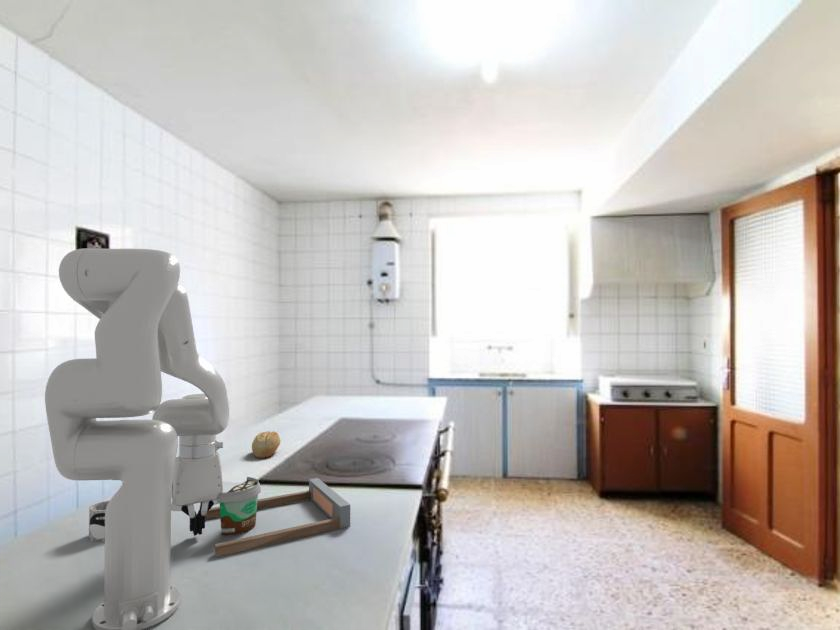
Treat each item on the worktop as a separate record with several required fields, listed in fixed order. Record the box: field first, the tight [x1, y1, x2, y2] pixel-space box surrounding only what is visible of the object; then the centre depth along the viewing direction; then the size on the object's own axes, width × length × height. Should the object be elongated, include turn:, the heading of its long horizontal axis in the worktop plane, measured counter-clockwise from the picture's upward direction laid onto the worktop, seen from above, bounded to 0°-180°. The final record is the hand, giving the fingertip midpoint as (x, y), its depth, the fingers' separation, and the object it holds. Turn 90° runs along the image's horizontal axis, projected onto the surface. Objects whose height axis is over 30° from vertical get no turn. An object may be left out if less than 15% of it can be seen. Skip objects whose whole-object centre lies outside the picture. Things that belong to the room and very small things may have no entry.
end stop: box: [308, 477, 351, 529], centre depth 124 cm, size 23×3×5 cm, turn 31°
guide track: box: [205, 489, 341, 558], centre depth 116 cm, size 23×27×2 cm
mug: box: [88, 499, 111, 542], centre depth 110 cm, size 10×7×7 cm
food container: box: [218, 476, 262, 537], centre depth 113 cm, size 12×6×10 cm, turn 168°
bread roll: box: [251, 431, 281, 459], centre depth 178 cm, size 10×15×8 cm, turn 8°
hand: (197, 532), depth 108 cm, fingers closed
